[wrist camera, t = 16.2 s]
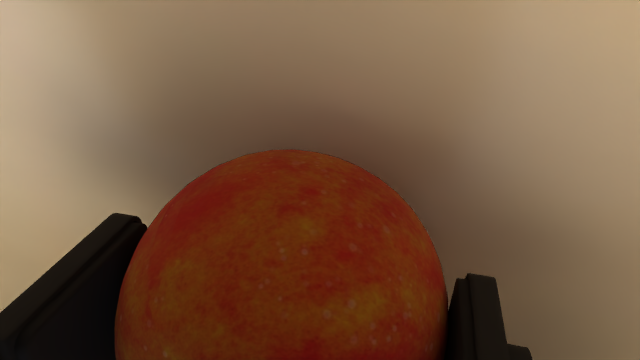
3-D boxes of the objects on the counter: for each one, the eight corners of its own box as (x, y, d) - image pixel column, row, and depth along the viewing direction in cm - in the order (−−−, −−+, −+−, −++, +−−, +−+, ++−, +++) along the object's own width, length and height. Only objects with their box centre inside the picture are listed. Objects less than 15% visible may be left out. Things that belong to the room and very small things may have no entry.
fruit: (305, 343, 16) (208, 656, 9) (161, 190, 14) (-92, 432, 7) (495, 258, 13) (564, 629, 6) (341, 51, 11) (197, 242, 4)
